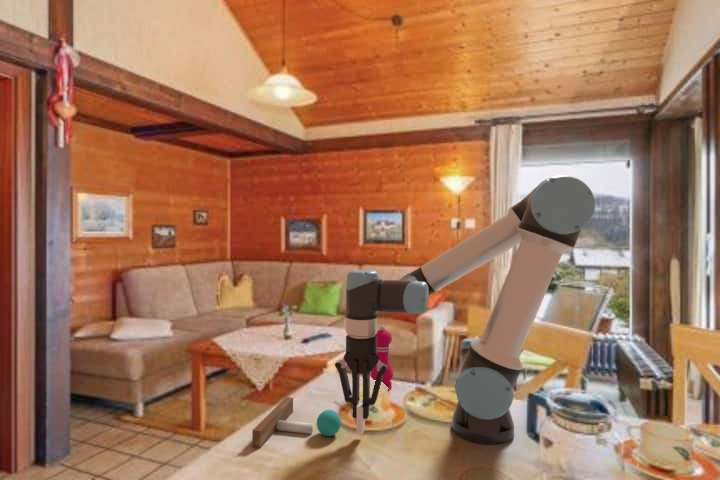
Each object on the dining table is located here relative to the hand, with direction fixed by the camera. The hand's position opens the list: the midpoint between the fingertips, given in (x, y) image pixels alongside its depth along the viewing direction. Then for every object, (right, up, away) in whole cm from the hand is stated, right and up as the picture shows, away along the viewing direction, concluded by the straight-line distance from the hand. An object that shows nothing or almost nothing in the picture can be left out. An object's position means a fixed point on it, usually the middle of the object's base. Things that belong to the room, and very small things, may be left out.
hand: (360, 430), depth 106 cm
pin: (-12, -1, +3) cm, 12 cm away
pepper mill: (+7, -1, +33) cm, 34 cm away
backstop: (-22, -2, +5) cm, 23 cm away
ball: (-8, +1, +2) cm, 8 cm away
